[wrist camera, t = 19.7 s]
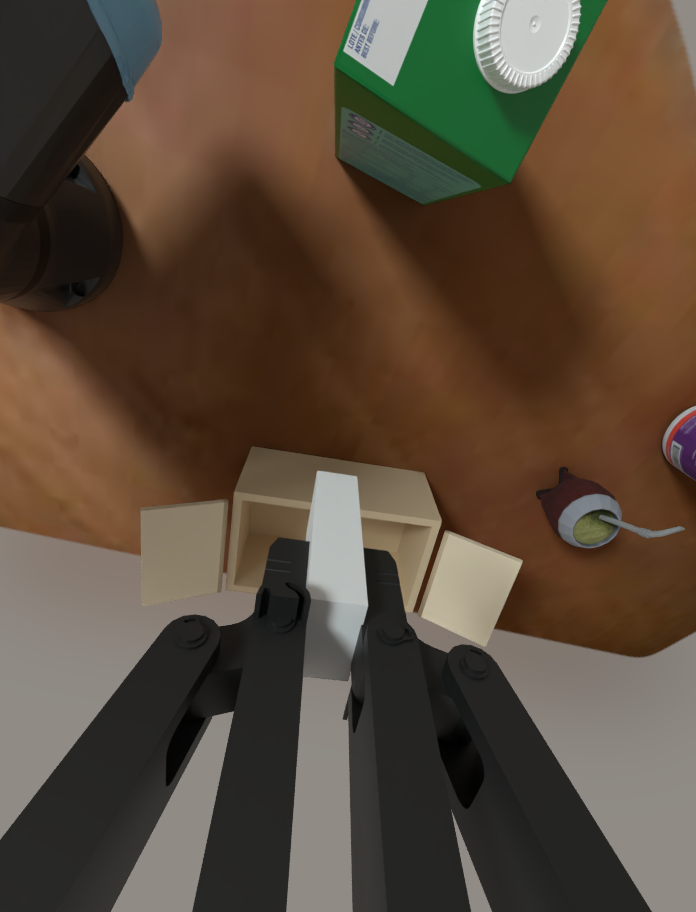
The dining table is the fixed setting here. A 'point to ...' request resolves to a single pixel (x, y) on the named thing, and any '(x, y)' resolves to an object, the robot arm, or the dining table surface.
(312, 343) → the dining table surface
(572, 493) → the mate gourd
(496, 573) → the flap right
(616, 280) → the dining table surface
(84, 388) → the dining table surface
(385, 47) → the milk carton
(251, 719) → the robot arm
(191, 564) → the flap left
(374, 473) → the carton
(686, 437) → the pill bottle
